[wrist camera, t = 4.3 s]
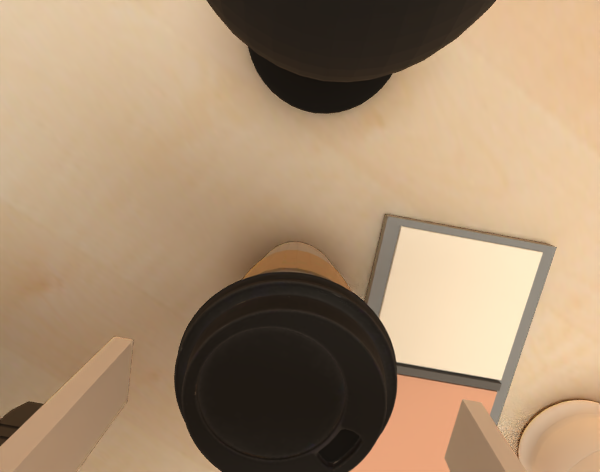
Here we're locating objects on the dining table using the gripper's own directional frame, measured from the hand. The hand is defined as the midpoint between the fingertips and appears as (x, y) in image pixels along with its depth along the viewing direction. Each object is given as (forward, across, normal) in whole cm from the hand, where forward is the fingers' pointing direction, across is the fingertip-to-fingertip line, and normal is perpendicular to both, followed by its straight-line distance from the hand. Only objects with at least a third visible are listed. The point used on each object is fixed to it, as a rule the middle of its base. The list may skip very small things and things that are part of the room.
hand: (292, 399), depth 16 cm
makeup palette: (+15, +11, -5) cm, 19 cm away
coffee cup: (+15, 0, 0) cm, 15 cm away
